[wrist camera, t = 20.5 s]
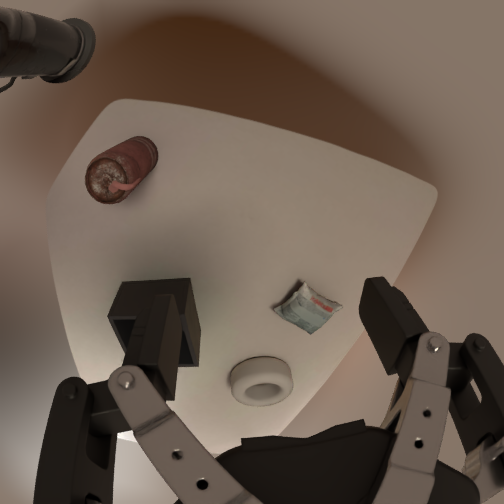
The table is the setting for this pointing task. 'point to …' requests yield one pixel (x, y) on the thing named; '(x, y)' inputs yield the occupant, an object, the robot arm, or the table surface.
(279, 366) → the donut shape
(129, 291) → the trash bin
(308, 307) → the packaged food
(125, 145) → the can
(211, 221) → the table surface
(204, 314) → the table surface
